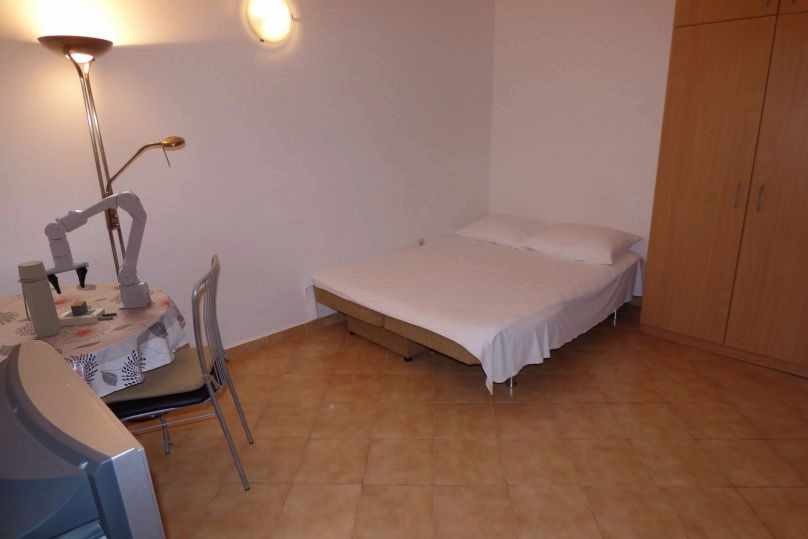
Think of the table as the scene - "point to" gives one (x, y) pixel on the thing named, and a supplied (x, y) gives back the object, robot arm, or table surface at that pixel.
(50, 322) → the water bottle
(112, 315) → the cord
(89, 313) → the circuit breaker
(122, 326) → the table surface
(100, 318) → the cord
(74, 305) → the knob
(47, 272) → the robot arm
